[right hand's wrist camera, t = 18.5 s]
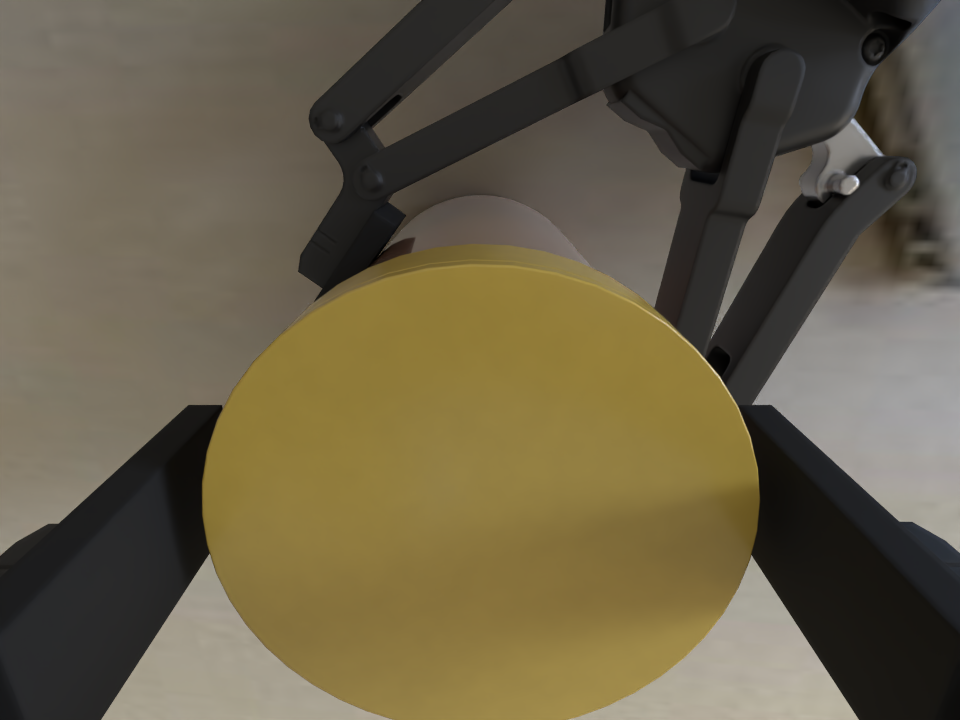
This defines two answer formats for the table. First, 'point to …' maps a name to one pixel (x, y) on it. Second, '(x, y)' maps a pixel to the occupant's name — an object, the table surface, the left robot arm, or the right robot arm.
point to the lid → (480, 489)
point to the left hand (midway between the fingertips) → (408, 442)
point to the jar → (480, 228)
